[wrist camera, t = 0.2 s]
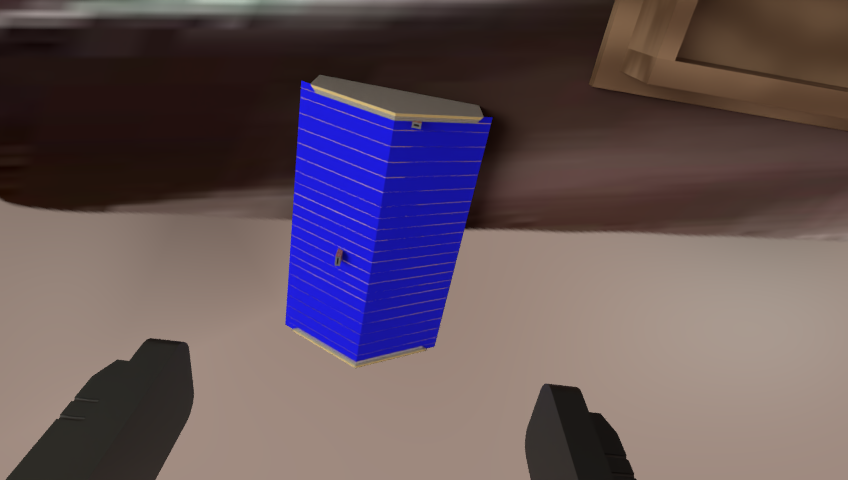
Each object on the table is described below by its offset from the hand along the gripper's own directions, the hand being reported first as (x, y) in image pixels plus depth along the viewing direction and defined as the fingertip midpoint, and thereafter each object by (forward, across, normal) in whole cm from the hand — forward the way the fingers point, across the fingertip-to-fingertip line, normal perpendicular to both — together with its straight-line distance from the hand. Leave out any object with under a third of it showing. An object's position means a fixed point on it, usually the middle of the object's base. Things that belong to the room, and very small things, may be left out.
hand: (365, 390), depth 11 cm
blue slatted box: (+31, +1, +10) cm, 32 cm away
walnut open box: (+30, -26, -9) cm, 41 cm away
